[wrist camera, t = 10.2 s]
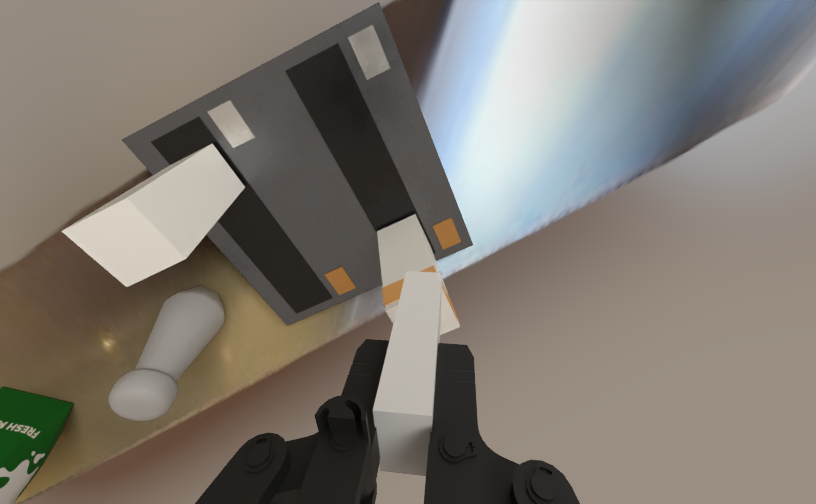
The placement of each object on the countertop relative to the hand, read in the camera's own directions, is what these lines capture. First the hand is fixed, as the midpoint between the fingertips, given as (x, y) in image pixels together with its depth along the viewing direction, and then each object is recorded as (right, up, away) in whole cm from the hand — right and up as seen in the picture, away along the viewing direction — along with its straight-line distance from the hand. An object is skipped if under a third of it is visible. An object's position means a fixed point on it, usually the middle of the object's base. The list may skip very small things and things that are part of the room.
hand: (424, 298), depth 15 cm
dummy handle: (-17, +8, +13) cm, 23 cm away
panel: (-9, +8, +18) cm, 21 cm away
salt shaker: (-23, -3, +22) cm, 32 cm away
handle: (-1, +3, +18) cm, 19 cm away
